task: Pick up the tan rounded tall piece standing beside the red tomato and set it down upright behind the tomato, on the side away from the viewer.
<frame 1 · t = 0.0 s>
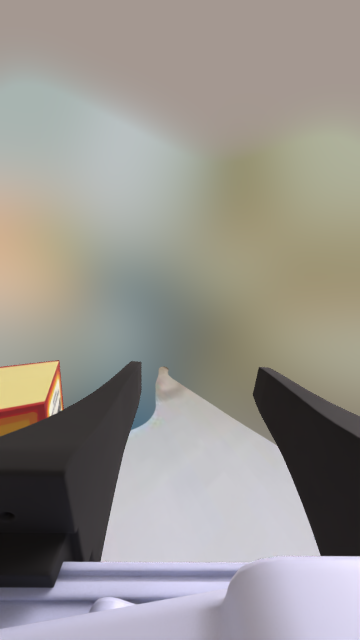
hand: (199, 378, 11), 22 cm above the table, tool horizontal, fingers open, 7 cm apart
baking soda box: (33, 496, 23), on the table
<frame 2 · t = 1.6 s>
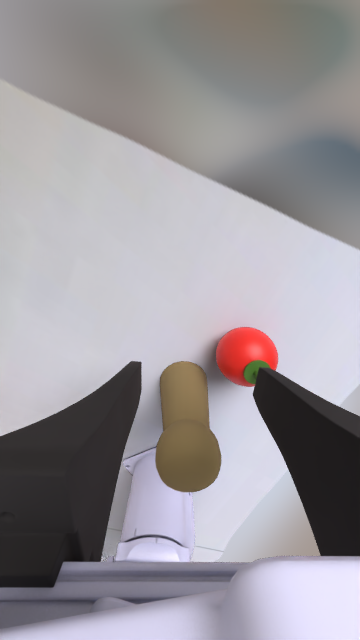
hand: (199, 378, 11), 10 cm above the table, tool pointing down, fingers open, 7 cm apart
tan rounded tall piece: (183, 381, 24), on the table
tomato: (236, 343, 22), on the table
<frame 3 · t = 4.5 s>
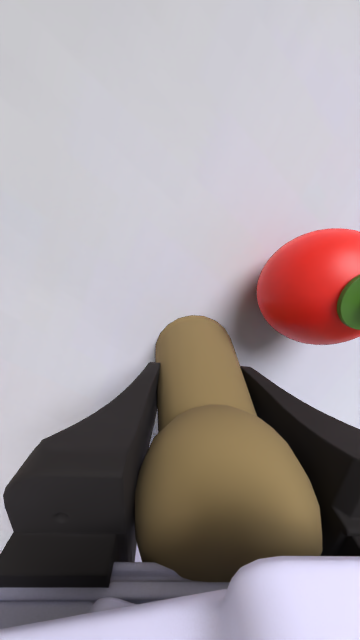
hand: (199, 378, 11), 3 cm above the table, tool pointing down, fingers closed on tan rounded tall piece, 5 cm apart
tan rounded tall piece: (193, 351, 15), on the table, touching gripper
tomato: (285, 282, 13), on the table
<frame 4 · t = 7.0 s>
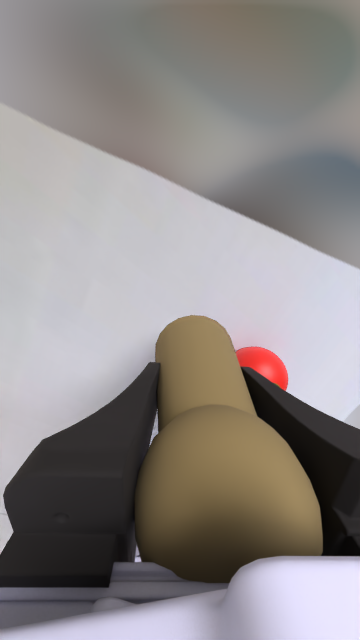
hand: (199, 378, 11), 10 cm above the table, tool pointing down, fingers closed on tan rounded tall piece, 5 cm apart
tan rounded tall piece: (193, 350, 15), point 7 cm above the table, touching gripper
tomato: (245, 360, 23), on the table
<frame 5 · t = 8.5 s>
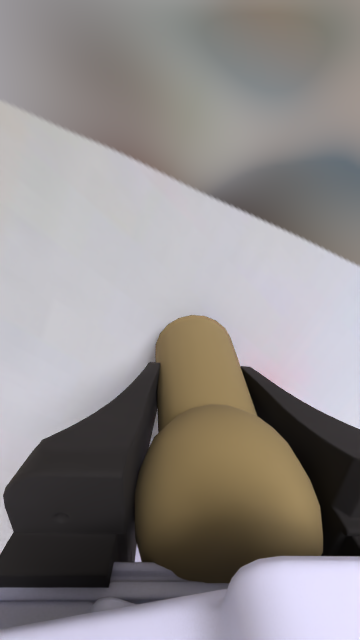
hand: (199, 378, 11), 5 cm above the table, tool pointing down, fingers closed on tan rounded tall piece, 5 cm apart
tan rounded tall piece: (193, 350, 15), point 1 cm above the table, touching gripper
when the fingers open (3 cm above the table, at t = 9.6 s): tan rounded tall piece stays where it is, on the table.
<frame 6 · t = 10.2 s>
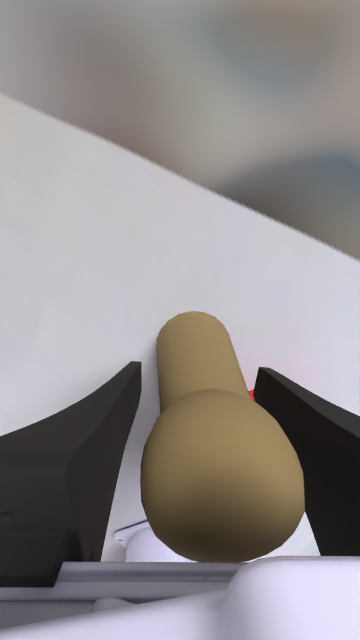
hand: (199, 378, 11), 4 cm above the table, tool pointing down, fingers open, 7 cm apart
tan rounded tall piece: (193, 345, 15), on the table
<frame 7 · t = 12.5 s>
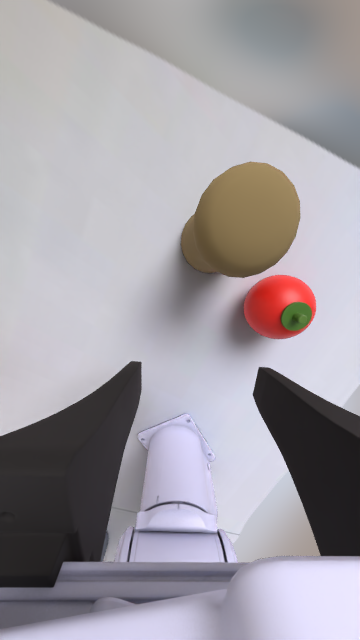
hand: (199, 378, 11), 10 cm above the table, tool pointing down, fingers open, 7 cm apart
tan rounded tall piece: (210, 242, 19), on the table
tomato: (263, 300, 20), on the table
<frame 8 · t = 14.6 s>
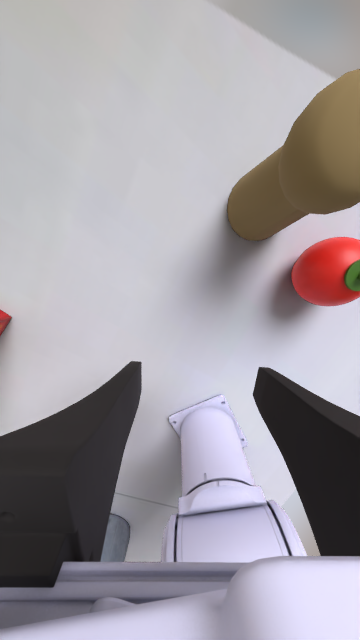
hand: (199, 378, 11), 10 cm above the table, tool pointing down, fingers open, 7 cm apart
moka pot: (105, 528, 32), on the table
tan rounded tall piece: (257, 207, 18), on the table
tomato: (308, 271, 20), on the table
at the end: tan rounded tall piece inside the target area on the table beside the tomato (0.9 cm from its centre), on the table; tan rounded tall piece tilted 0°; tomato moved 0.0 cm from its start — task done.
